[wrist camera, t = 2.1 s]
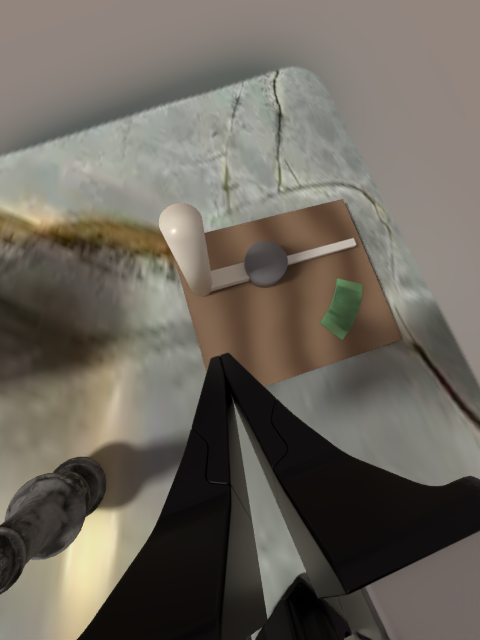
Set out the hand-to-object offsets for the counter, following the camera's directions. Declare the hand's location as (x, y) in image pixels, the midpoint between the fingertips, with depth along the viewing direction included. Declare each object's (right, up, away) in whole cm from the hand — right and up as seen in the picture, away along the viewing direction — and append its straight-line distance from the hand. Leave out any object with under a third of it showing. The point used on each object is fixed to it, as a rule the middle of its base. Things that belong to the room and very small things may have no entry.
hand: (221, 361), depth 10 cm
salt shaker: (-15, -14, +11) cm, 23 cm away
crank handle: (+5, +8, +14) cm, 17 cm away
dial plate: (+6, +5, +15) cm, 17 cm away
